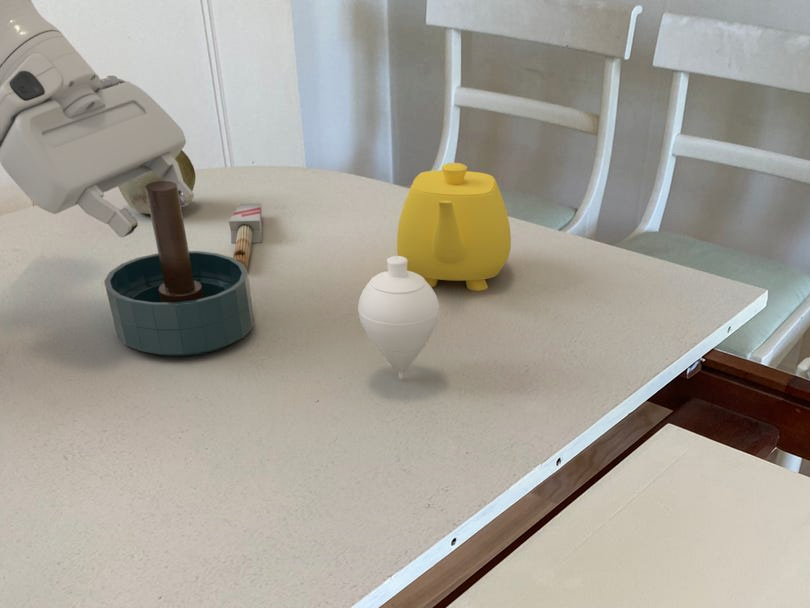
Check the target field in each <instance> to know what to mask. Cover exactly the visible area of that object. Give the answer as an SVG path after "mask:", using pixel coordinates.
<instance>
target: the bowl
mask: <svg viewBox="0 0 810 608" xmlns="http://www.w3.org/2000/svg"><path fill="white" fill-rule="evenodd" d="M189 256H190V261H191V267H192V273H193V278H194V281H197V282H199V283H200V284H201V285H202V290H203V296H204V298H202V299H198V300H192V301H183V302H175V303H174V302H161V300H160V295H159V290H158V289H159V287H160V285H162V284H163V283H164V280H163V275H162V270H161V265H160V260H159V255H158V252H156V253H152V254H149V255H148V254H147V255H144V256H139V257H136V258H134V259H130V260H128V261H125V262H123V263H120V264H119V265H118V266H116V267H115V268H113V269H112V270H110V271H109V272H108V274H107V275H106V277H105V279H104V281H103V282H104V286H105V292H106V295H107V299H108V303H109V307H110V310H111V311H110V312H111V315H112V320H113V325H114V328H115V332H116V337H117V339H118V340H120V341H121V343H123V344H124V345H125V346H127V347H129V348H132V349H135V350H137V351H140V352H143V353H148V354H149V353H150V354H153V355H157V356H158V355H159V356H166V357H187V356H196V355H203V354H208V353H211V352H215V351H217V350H220V349H223V348H225V347H227V346H229V345H232V344H233V343H235V342H237V341H239V340H241V339H242V338H244V337H245V336H246V335H247V334H249V332H251V330H252V329H253V325H254V322H255V316H254V308H253V302H252V295H251V286H250V279H249V273H248V270H246V268H245V266H244V265H243V264H242V263H240V262H238V261H237V260H235V259H234V258H233V257H230V256H228V255H223V254H221V253H218V252H208V251H202V250H189Z"/></svg>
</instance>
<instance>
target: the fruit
mask: <svg viewBox="0 0 810 608" xmlns="http://www.w3.org/2000/svg"><path fill="white" fill-rule="evenodd" d="M175 160H176V161H177V163H178V166H179V169H180V172H181V175H182V178H183V181H184V183H185V184H186V185H187V186H188V187H189V189H190V190H191V191H192V192H193V191H194V187H195V183H196V171H195V168H194V164H193V163H192V161H191V159H190V158H189V156H188V155H187V154H186V152H185V151H184V150H183V149H182V150H181V152H180V153H179V154H178V156H177V157H176V158H175ZM157 181H165V180H164V178H161V179H159V178H158V177H157V176H156V174H155V173H154V172H153V171H151V172H149V173H147V174H144V175H142V176H140V177H138V178H136V179H133V180H131V181H129V182H127V183H124V184H122V185H120V186H118V189H119V192H120V194H121V195H122V198H123V199H124V200H125V202H126V204H128V205H129V207H131V208H132V209H133V210H135V211H136V212H139V213H141V214H145V215H151V214H150V209H149V204H148V199H147V194H146V189H145V186H146V185H147V184H149V183H152V182H157Z"/></svg>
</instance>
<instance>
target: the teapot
mask: <svg viewBox="0 0 810 608" xmlns="http://www.w3.org/2000/svg"><path fill="white" fill-rule="evenodd" d="M510 226H511V225H510V221H509V216H508V212H507V208H506V205H505V202H504V199H503V196H502V193H501V190H500V187H499V185H498V183H497V181H496V178H494V176H493V175H491V174H489V173H484V172H477V171H468V166H467V165H466V164H463V163H460V162H447V163H445V164H442V165H441V170H427V171H422V172H419V174H417V176H416V177H415V178H414V179H413V182H412V183H411V186H410V188H409V190H408V193H407V196H406V198H405V201H404V203H403V207H402V210H401V213H400V216H399V221H398V227H397V233H396V234H397V235H396V255H397V256H402V257H405V258H406V259H407V260H408V262H407V271H411V272H414V273H416V274H418V275H420V276H422V277H423V278H424V279H425V281H426V282H427V283H428V284H429V285H430V286H431V288H434V287H436V286H437V285H438V280H441V281H442V280H443V281H465V285H466V288H467V289H468V290H470V291H477V292H480V291H485V290H487V289H488V287H489V286H488V283H487V281H486V279H491V278H494V277H496V276H497V275H498V274H500V272H501V271H502V269H503V267H504V266H505V265H506V263H507V260H508V258H509V256H510V253H511V249H512V247H511V246H512V236H511V227H510Z"/></svg>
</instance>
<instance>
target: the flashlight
mask: <svg viewBox="0 0 810 608" xmlns="http://www.w3.org/2000/svg"><path fill="white" fill-rule="evenodd" d="M145 189H146V194H147V199H148V204H149V209H150V214H149V215H150V218H151V224H152V228H153V229H152V230H153V233H154V239H155V244H156V249H157V253H158V255H159V260H160V265H161V270H162V275H163V280H164V283H163V284H162V285H160V287H159V289H158V290H159V295H160V300H161V302H174V303H175V302H183V301H192V300H198V299H202V298H204V296H203V290H202V285H201V284H200V283H199V282H197V281H194V278H193V273H192V267H191V261H190V256H189V251H190V249H189V245H188V239H187V234H186V229H185V222H184V217H183V216H184V215H183V211H182V210H183V209H182V207H181V205H180V199H179V193H178V188H177V184H176V183H174V182H170V181H157V182H152V183H149V184H147V185H146V186H145Z"/></svg>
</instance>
